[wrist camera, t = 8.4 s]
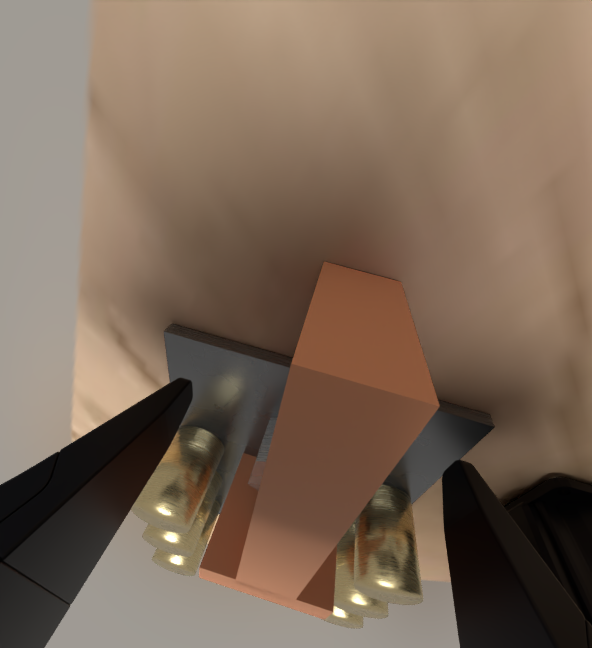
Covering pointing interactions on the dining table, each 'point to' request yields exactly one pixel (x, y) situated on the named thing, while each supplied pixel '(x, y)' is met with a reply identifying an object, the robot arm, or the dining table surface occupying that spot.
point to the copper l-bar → (325, 443)
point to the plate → (245, 437)
